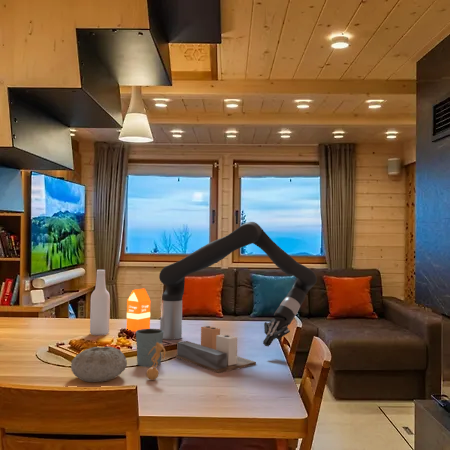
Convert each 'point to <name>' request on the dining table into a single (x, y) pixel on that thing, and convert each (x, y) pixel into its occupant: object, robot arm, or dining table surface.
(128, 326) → the orange juice
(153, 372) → the figurine
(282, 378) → the dining table surface
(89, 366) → the grey rounded rock
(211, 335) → the two dot button
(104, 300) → the alcohol
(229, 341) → the one dot button
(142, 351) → the blue-grey cup
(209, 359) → the console
